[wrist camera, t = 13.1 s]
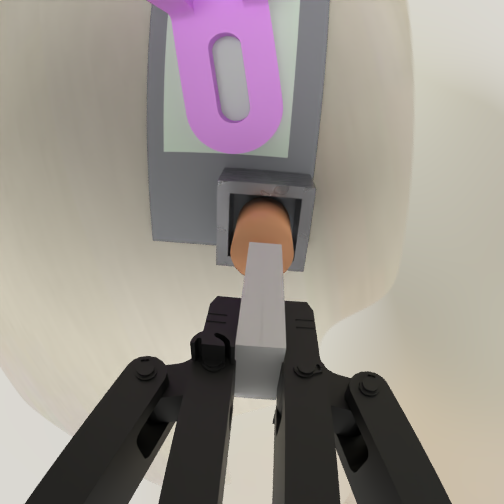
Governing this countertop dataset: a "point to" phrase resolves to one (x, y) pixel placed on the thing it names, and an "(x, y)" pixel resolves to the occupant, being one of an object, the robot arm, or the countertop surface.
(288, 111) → the grey flat plate
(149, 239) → the countertop surface
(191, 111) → the bracket
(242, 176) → the button housing
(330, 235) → the countertop surface
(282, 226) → the button
